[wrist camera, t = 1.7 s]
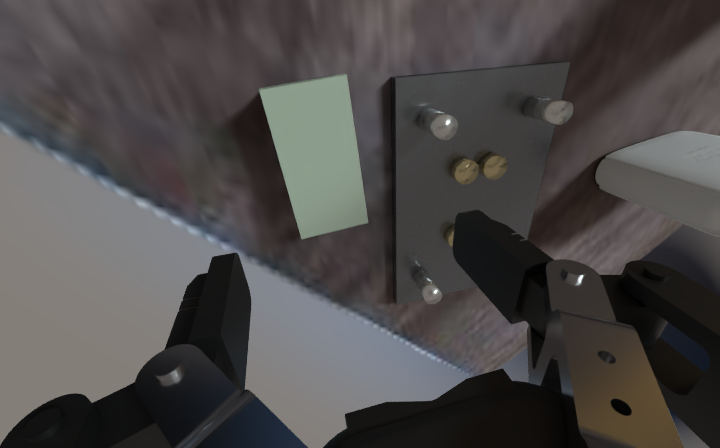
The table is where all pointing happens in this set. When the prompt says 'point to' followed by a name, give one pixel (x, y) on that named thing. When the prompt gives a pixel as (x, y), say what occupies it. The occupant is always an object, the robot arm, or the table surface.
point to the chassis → (466, 162)
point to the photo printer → (669, 177)
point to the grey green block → (317, 152)
